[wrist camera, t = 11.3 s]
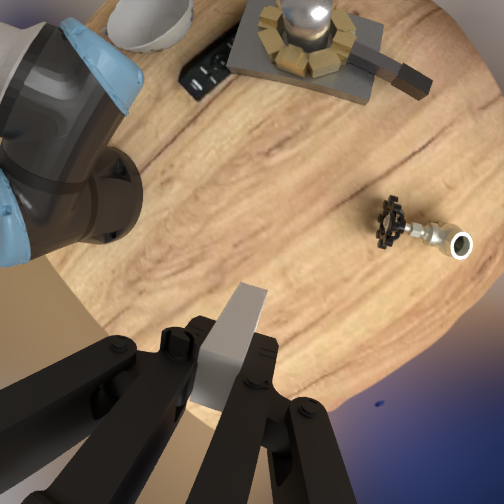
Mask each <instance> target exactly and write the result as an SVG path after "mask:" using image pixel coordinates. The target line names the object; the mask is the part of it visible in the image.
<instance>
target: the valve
mask: <svg viewBox="0 0 504 504" xmlns="http://www.w3.org/2000/svg"><path fill="white" fill-rule="evenodd" d="M394 201H395V202H398V197H396V196H393V195H390V196H389V198H388V201H387V200H385V201H384V202H383V209H384V210H383V213H382V214H380V215H379V217H378V222H379V223H380V227H379V230H377V232H376V238H377V239H379V241H378V245H377V246H378V248H381V249H386V248H387V246H389V247H391V246H392V245H393V241H396V240H397V239H398V238H399V236H400V234H402V233H403V232H404V231H406V232H408V235H410V236H413V237H417V238H419V237H420V236H421V238H422V239H423V242H424V244H425V245H428V246H431V247H433V246H435V247H437V248H438V249H439V251H440V252H441V253H442V254H444V255H446V256H451V257H453V258H456V259H460V260H464V259H465V258H466V257H467V256H468V255H469V253H470V252H471V251H472V239H471V234H469V233H466V232H464V231H462V229H461V228H460V227H459V226H457V225H455V224H444V223H440V222H438V223H437V224H436V223H433V222H429V223H428V224H427V225H426V226H425V225H424V226H423V227H422V225H421V224H418V223H415V222H410V224H408V223H406V220H405V219H404V213H403V211H402V210H401V208H402V207H401V205H399V204H396V203H394ZM389 212H390V216H388V214H389ZM396 214H399V215H400V216H399V217H397V216H396ZM385 229H387V231H386V233H385ZM393 232H394V233H395V236H391V235H392V233H393Z"/></svg>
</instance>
